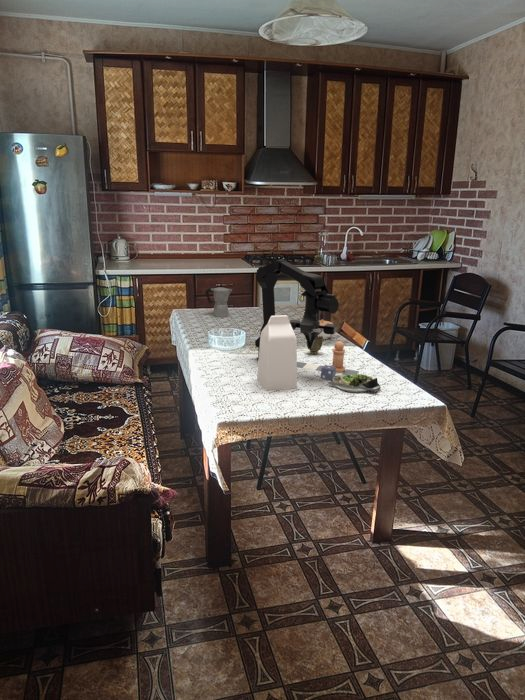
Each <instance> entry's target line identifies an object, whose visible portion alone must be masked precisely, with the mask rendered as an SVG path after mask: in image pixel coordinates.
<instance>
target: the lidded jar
mask: <svg viewBox="0 0 525 700" xmlns="http://www.w3.org/2000/svg"><path fill="white" fill-rule="evenodd" d="M319 321H320V325H322V326H325V325H326V324H334V323H333V322H331V321H329V320H324V319H321V320H320V319H319ZM319 336H320V337H321V336H322V337H323V339H326V340H328V339H329V338H330V336H332V335H331V334H325V333H324V332H323V331H322V332H321V333H320V334H319V335H318V337H319Z"/></svg>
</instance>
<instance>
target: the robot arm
mask: <svg viewBox="0 0 525 700" xmlns="http://www.w3.org/2000/svg"><path fill="white" fill-rule="evenodd" d="M281 274H284V275H285V276H287V277H289V278H291V279H292V280H294V281H296V282H298V283H299V285H300V287H301V289H303V290H304V291H303V292H302V293H301V296H302V297H305V301H304V312H303V317H302V319H301V320H299V319H298V320H297V319H289V321H290V324H291V326H292V329H293V331H295V329H296V328H297V329H300V333H301V334H303V335H304V338H305V340H306V344H307V343H308V347H309V349H311V348H312V346H313V344H314V342H315V339H316V337H317V336H318V335H319V334H320V333H321V332H322V331H323V332H324V333H325V334H331V335H330V336H332V335H335V334H336V333H337V330H338V326H337V324H334V323H333V324H326V325H325V326H322V325H320V321H319V320H320V319H321V318H320V316H321V312H324V313H328V314H336V313H337V312H338V309H339V306H340V303H339V301H338V299H337V295H336V294H330V291H329V289H328V287H327V285H326V283H325V281H324V277H323V276H322V275H320V274H317V273H312V272H311V273H310V272H306V271H305V270H304V269H301V268H300V267H297V266H296V265H294V264H292V263H290V262H288V261H287V260H286V259H276V260H274V261H273V262H271V263H268V264H266V265H264V266H263V265H262V266H259V267H258V269H257V270H256V281H257V283H258V284H259V287H260V288H261V298H262V315H263V318H262V319H263V323H262V326H261V328H260V331H259V337H257V339H256V340H255V341H254V344H255V347H256V348H258V349H257V350H258V354H257V356H256V360H259V347H260V335H261V332H262V330H263V329H264V327H265V326H266V325H267V323H268V321H269V319H270V317H271V316H276V305H275V286H276V285H277V282H278V275H281ZM309 349H308V350H309Z"/></svg>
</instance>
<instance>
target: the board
mask: <svg viewBox="0 0 525 700" xmlns="http://www.w3.org/2000/svg"><path fill="white" fill-rule="evenodd" d="M323 366H324V365H321V364H315V363H307V362H303V361H302V362H301V361H297V369H298V368H299V369H303V370H304V369H306V370H312V371H317V372H321V368H322V367H323ZM359 373H360V371H359V370H352V369H346V368H345V372H343V373H336V374H335V375H354V374H357V375H358V374H359Z"/></svg>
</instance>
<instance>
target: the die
mask: <svg viewBox="0 0 525 700" xmlns="http://www.w3.org/2000/svg"><path fill="white" fill-rule="evenodd" d="M322 366H323V367H322V368H321V371H320V379H322V380H327V381H333V380H332V378H333V377H335V376H336V375H337V374H336V367H335V366H331V365H327V364H324V365H322Z"/></svg>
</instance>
